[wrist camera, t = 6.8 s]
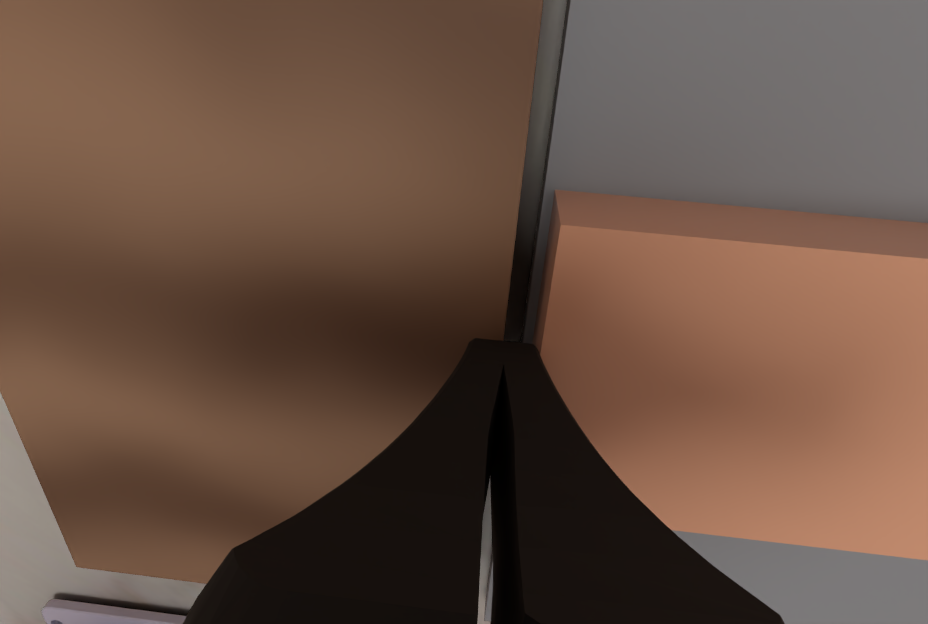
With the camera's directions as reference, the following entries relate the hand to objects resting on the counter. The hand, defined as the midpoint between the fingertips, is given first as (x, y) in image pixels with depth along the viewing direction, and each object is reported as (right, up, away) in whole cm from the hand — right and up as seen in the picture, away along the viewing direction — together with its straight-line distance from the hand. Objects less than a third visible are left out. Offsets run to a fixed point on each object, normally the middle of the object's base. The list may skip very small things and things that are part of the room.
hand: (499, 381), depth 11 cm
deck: (-6, +2, +3) cm, 7 cm away
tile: (+6, 0, +1) cm, 6 cm away
